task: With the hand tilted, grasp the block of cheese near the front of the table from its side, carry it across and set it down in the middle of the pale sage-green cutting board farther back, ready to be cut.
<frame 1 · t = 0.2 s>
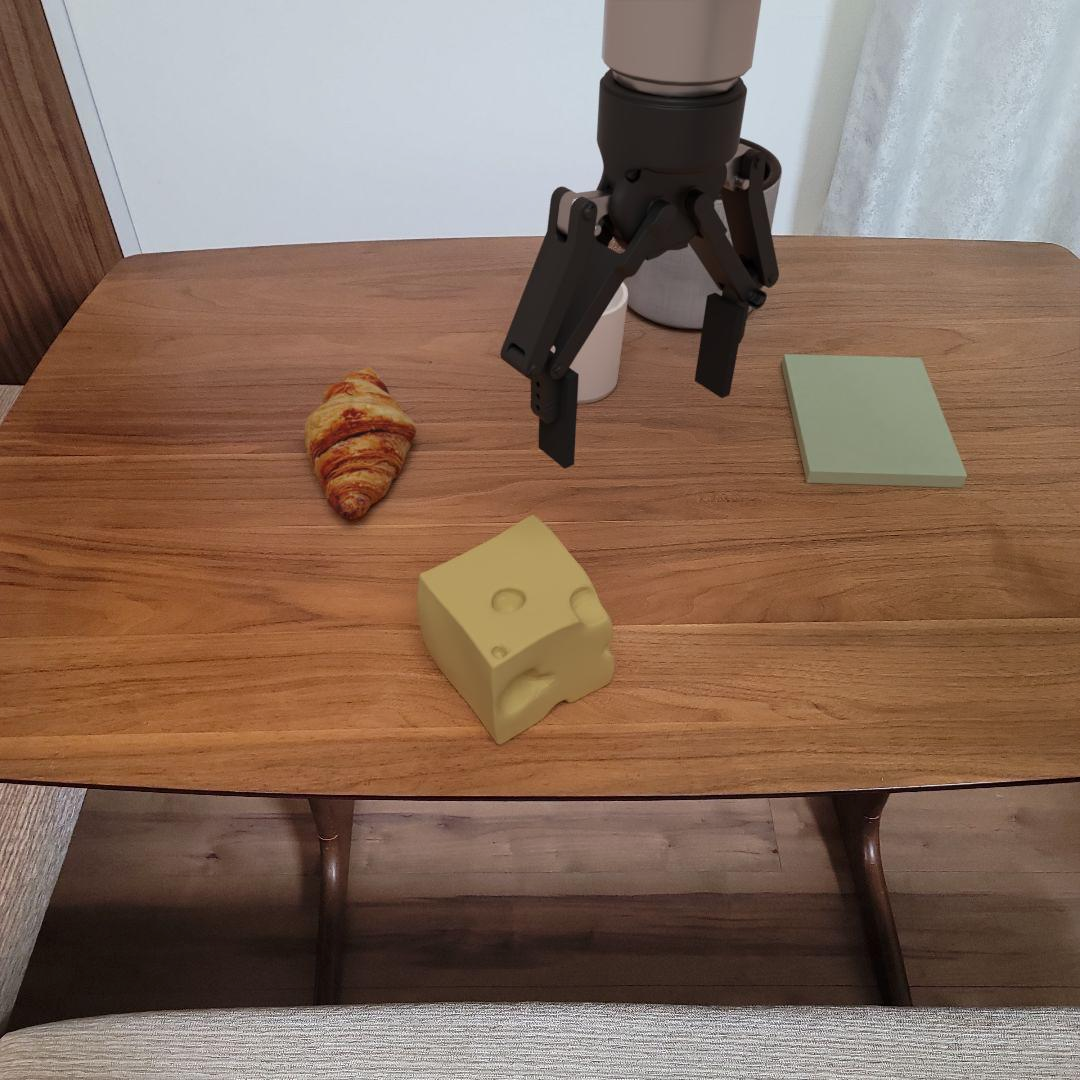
hand: (637, 420, 61), 19 cm above the table, tool pointing down, fingers open, 13 cm apart
cheese: (516, 672, 70), on the table
mug: (569, 378, 96), on the table
planter: (687, 297, 106), on the table
croissant: (365, 456, 87), on the table
board: (865, 422, 90), on the table
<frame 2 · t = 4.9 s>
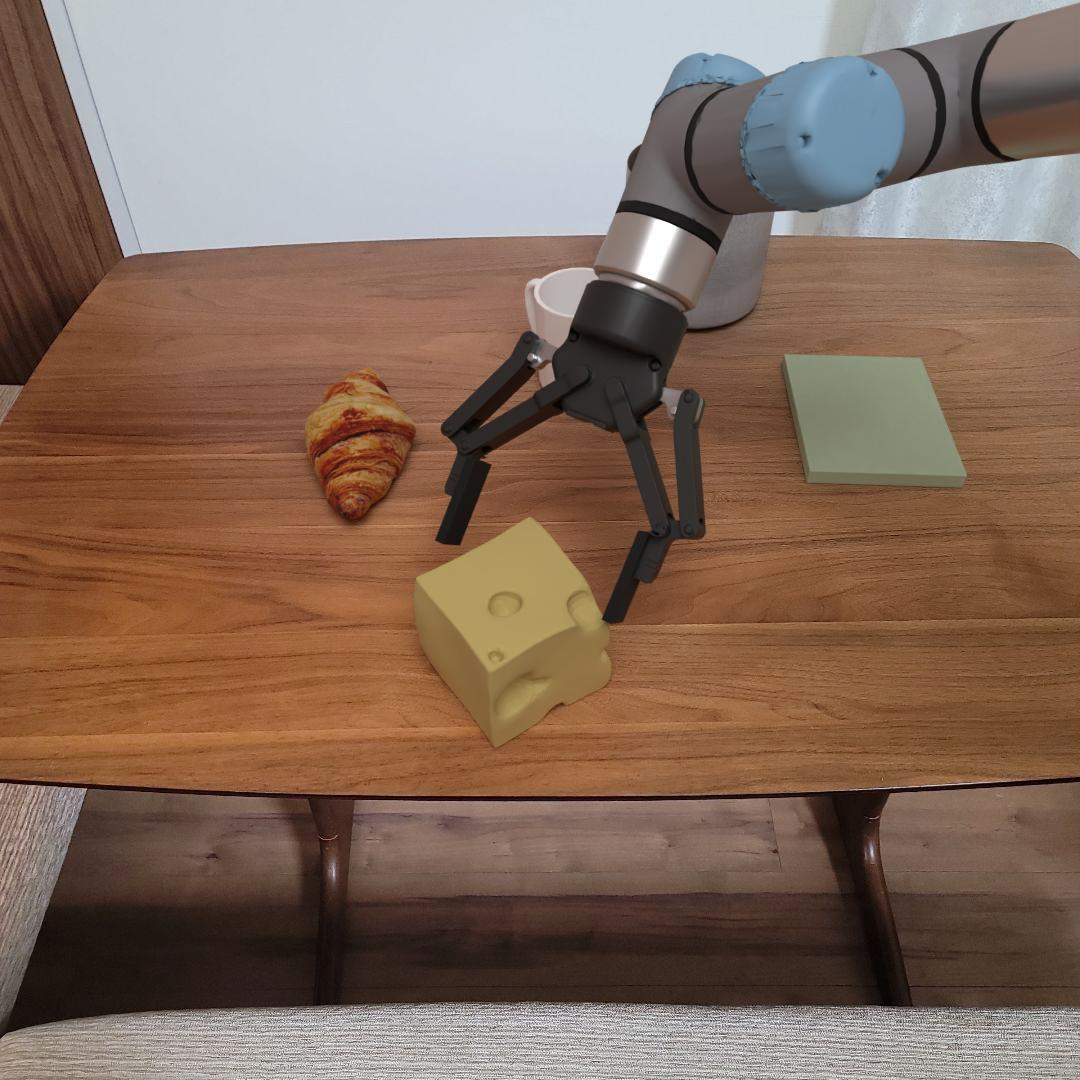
hand: (526, 582, 66), 8 cm above the table, tool tilted 45°, fingers open, 13 cm apart
cheese: (513, 674, 70), on the table, touching gripper
everything else where it was.
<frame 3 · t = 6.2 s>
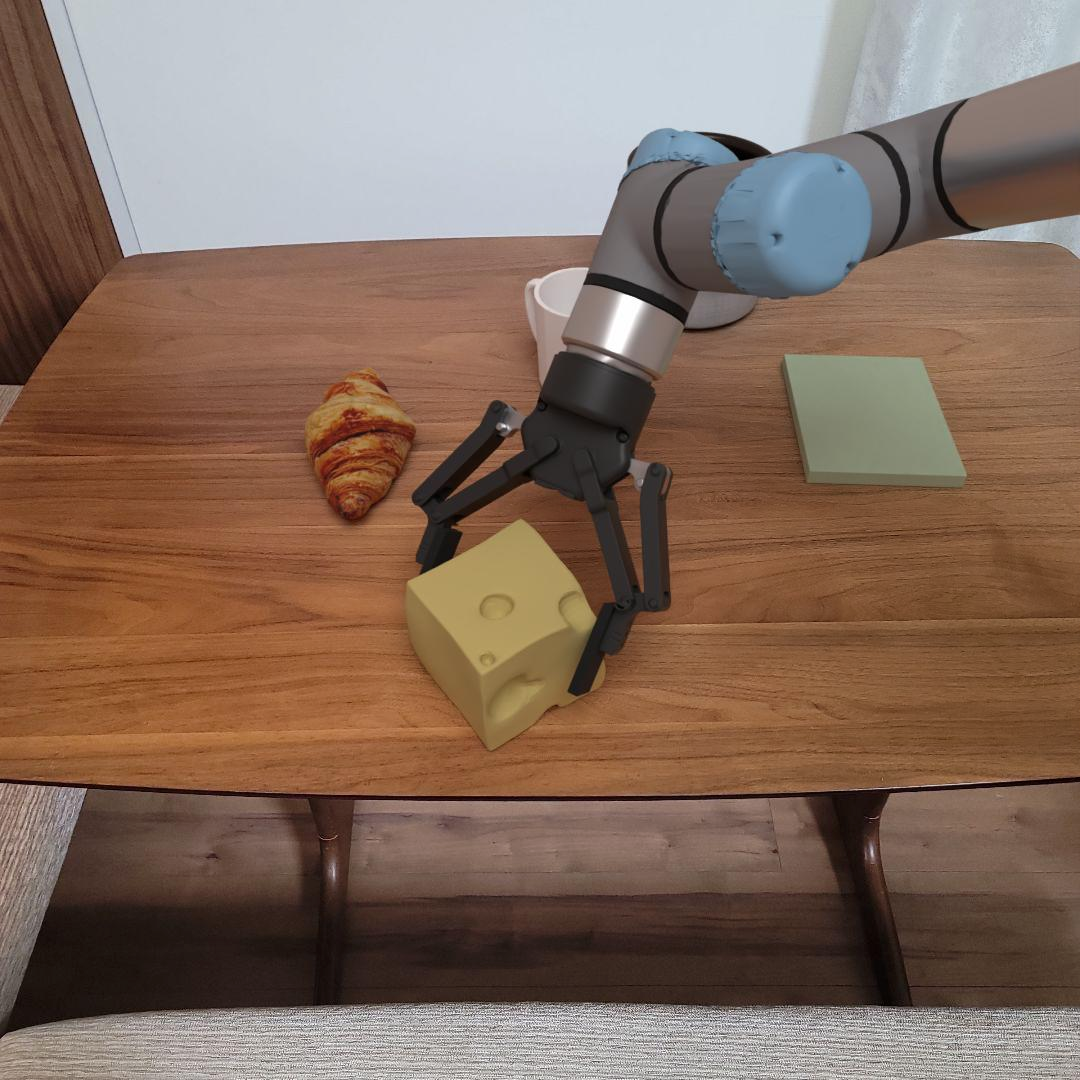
hand: (495, 650, 66), 5 cm above the table, tool tilted 45°, fingers closed on cheese, 13 cm apart
cheese: (507, 676, 70), on the table, touching gripper
everything else where it was.
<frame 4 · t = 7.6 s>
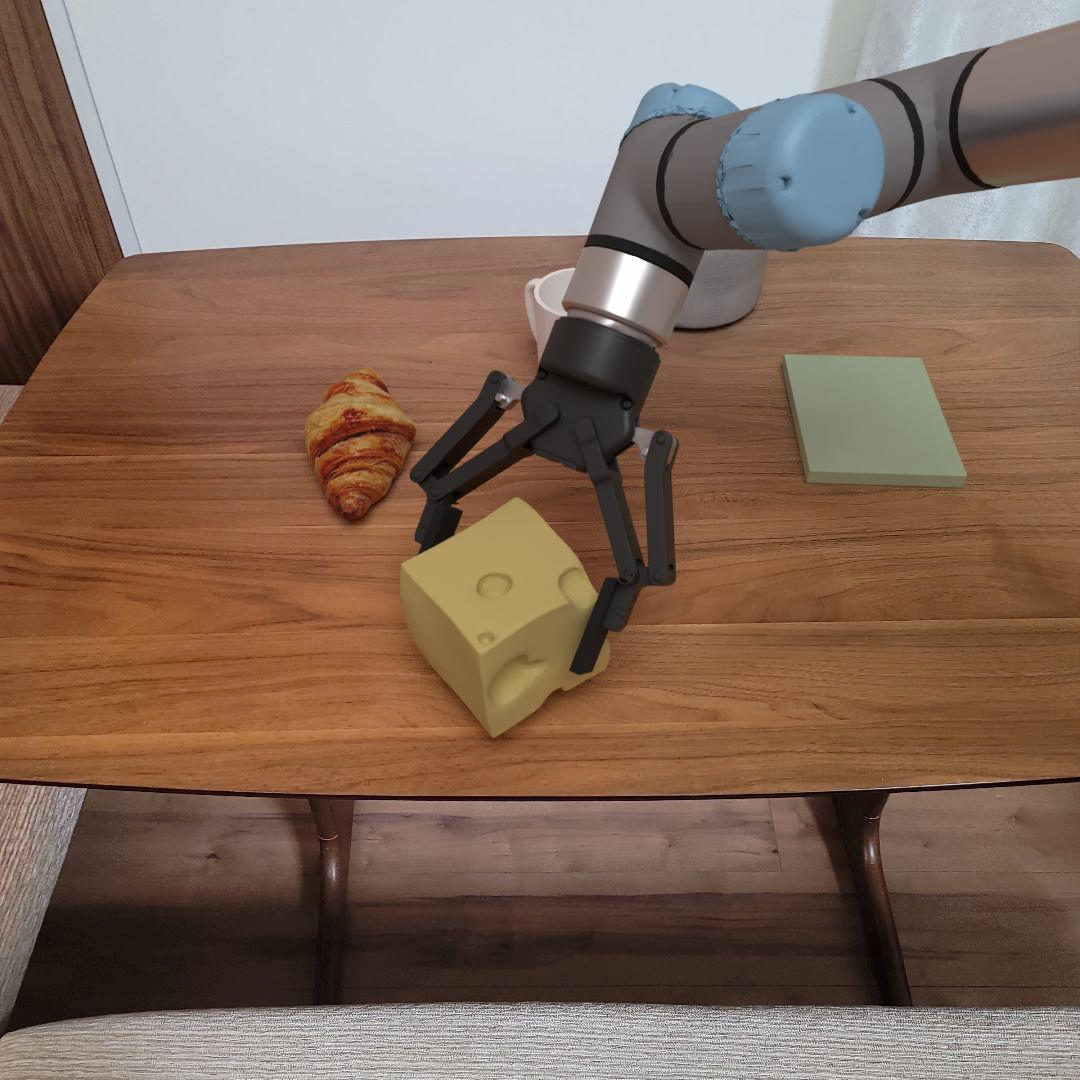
hand: (496, 631, 63), 8 cm above the table, tool tilted 45°, fingers closed on cheese, 12 cm apart
cheese: (509, 662, 68), point 3 cm above the table, touching gripper
everything else where it was.
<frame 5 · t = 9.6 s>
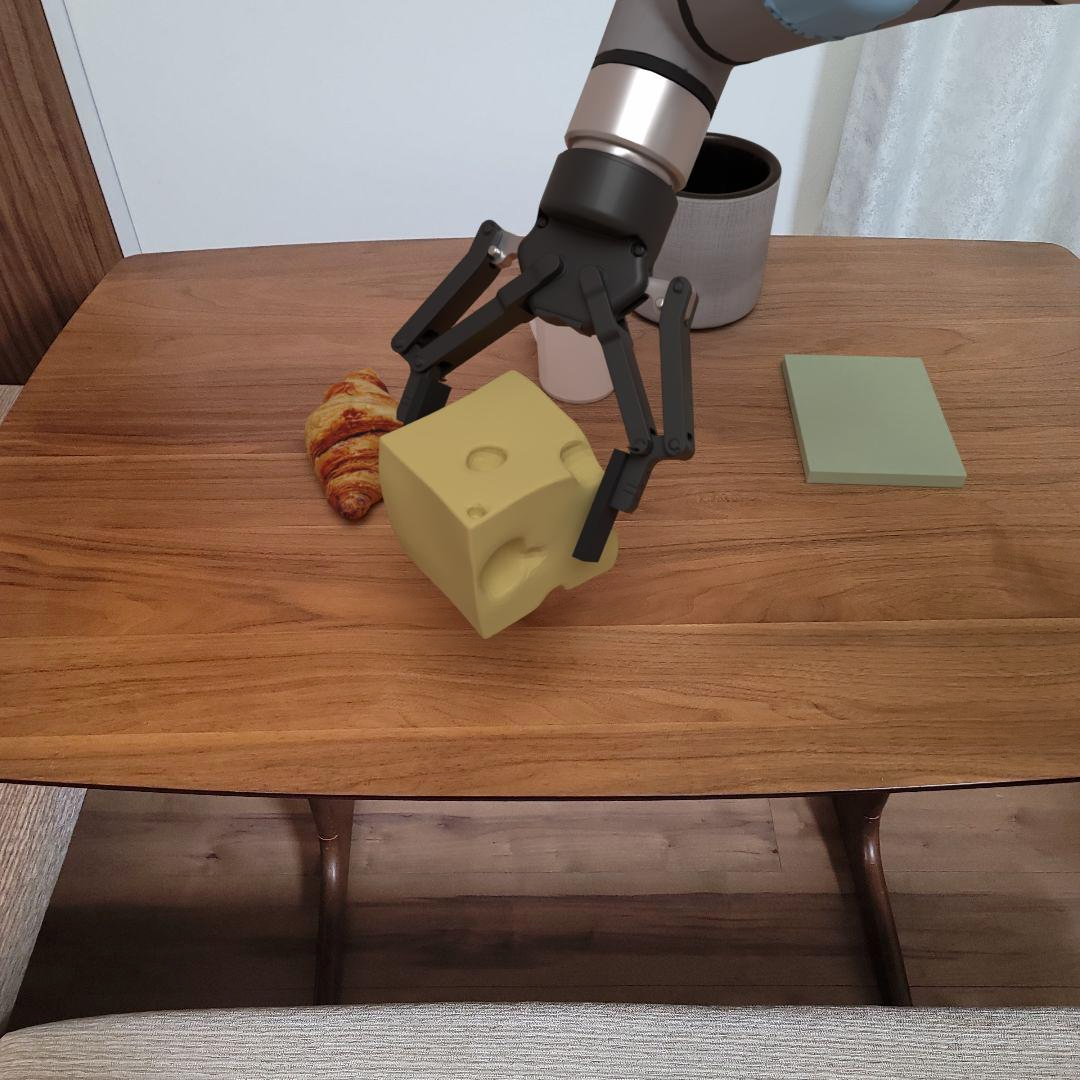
hand: (488, 518, 55), 18 cm above the table, tool tilted 45°, fingers closed on cheese, 12 cm apart
cheese: (503, 561, 60), point 13 cm above the table, touching gripper
everything else where it was.
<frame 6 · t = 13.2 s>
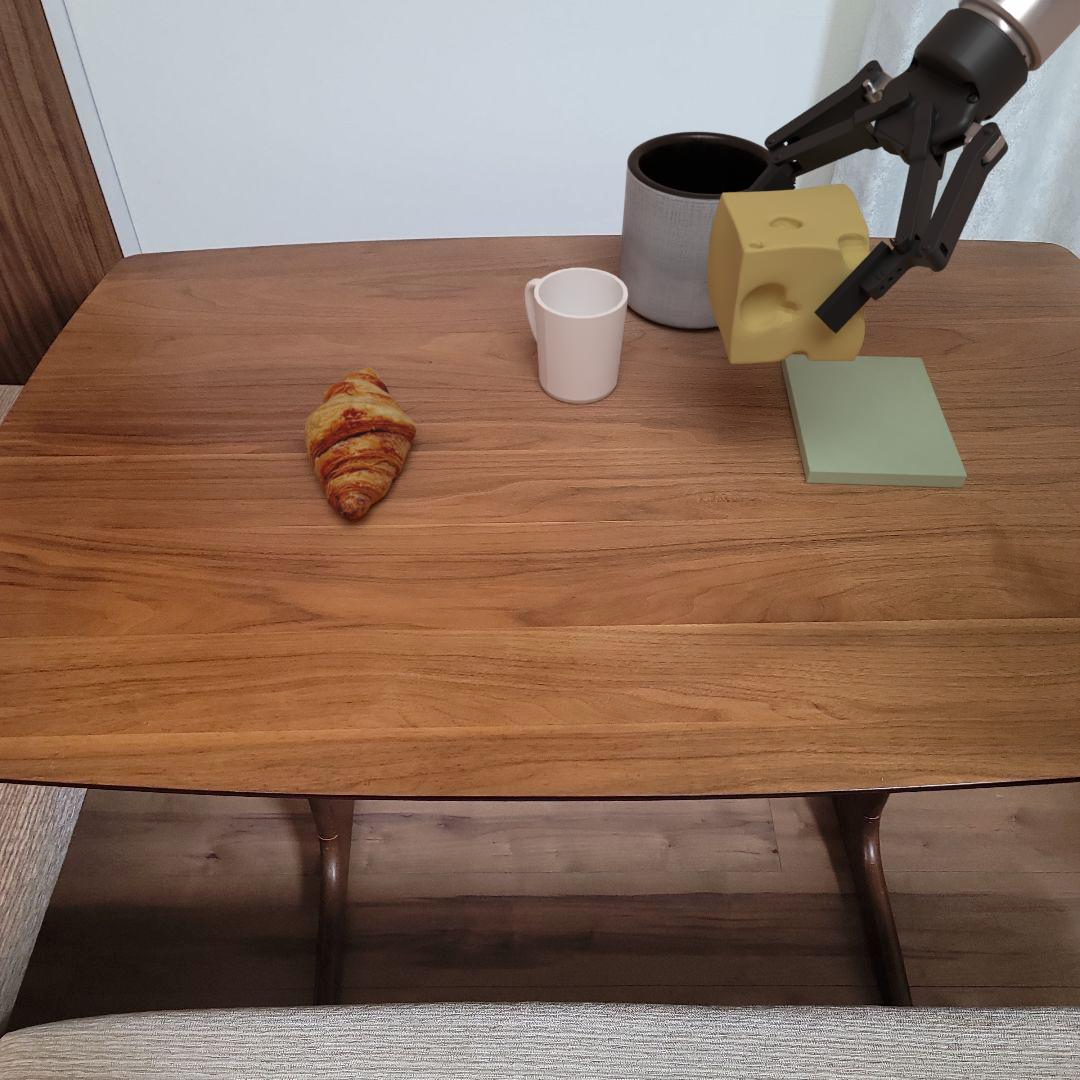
hand: (773, 280, 72), 19 cm above the table, tool tilted 45°, fingers closed on cheese, 12 cm apart
cheese: (775, 332, 76), point 14 cm above the table, touching gripper
everything else where it was.
when the fingers open (7 cm above the table, at t = 19.0 s): cheese stays where it is, resting on board.
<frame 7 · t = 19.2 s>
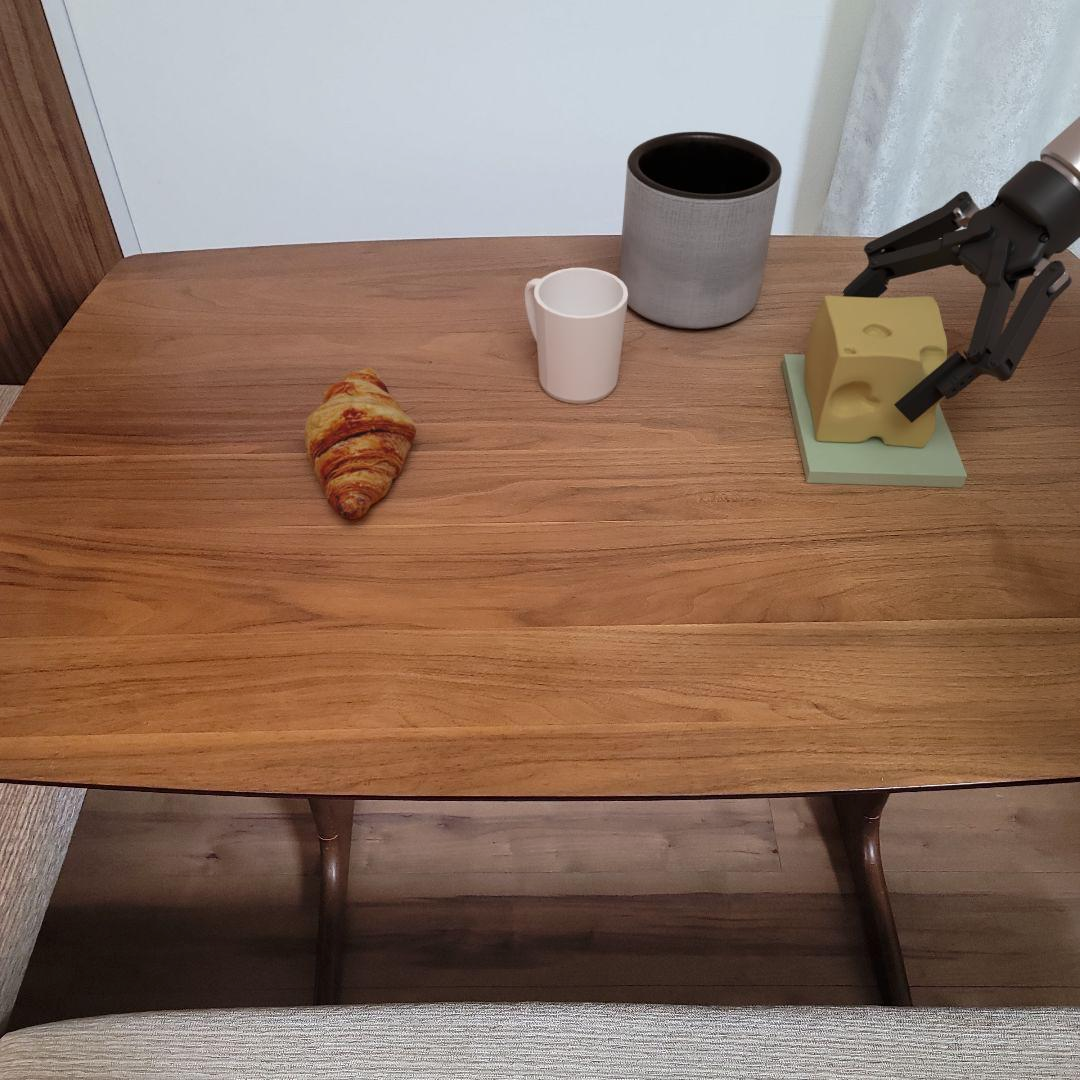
hand: (861, 369, 85), 7 cm above the table, tool tilted 45°, fingers open, 13 cm apart
cheese: (858, 414, 89), point 1 cm above the table, touching board
everything else where it was.
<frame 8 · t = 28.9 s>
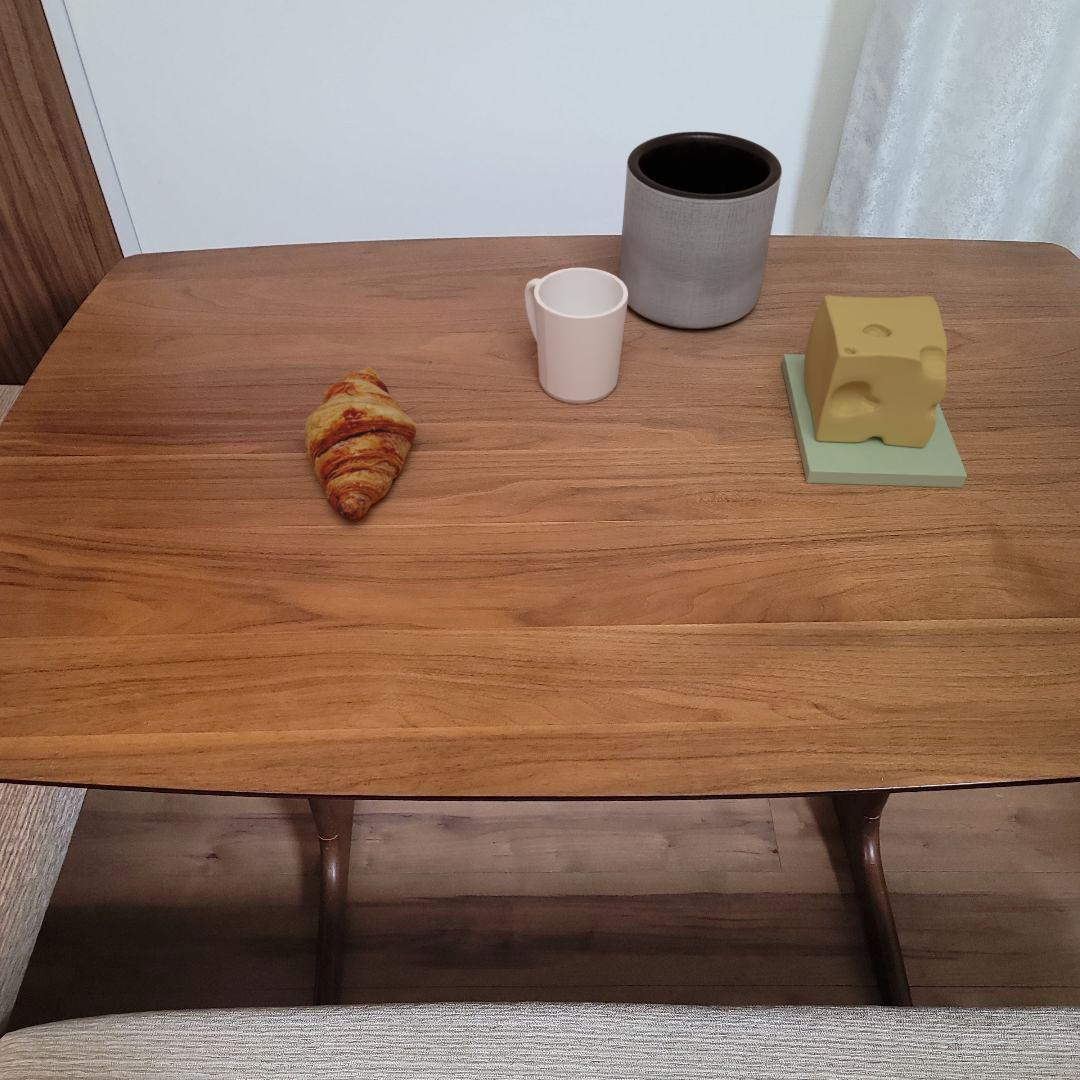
nothing on the table moved.
at the end: cheese inside the target area on the board (1.1 cm from its centre), point 1.3 cm above the board's base; cheese tilted 0°; the gripper is holding nothing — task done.
